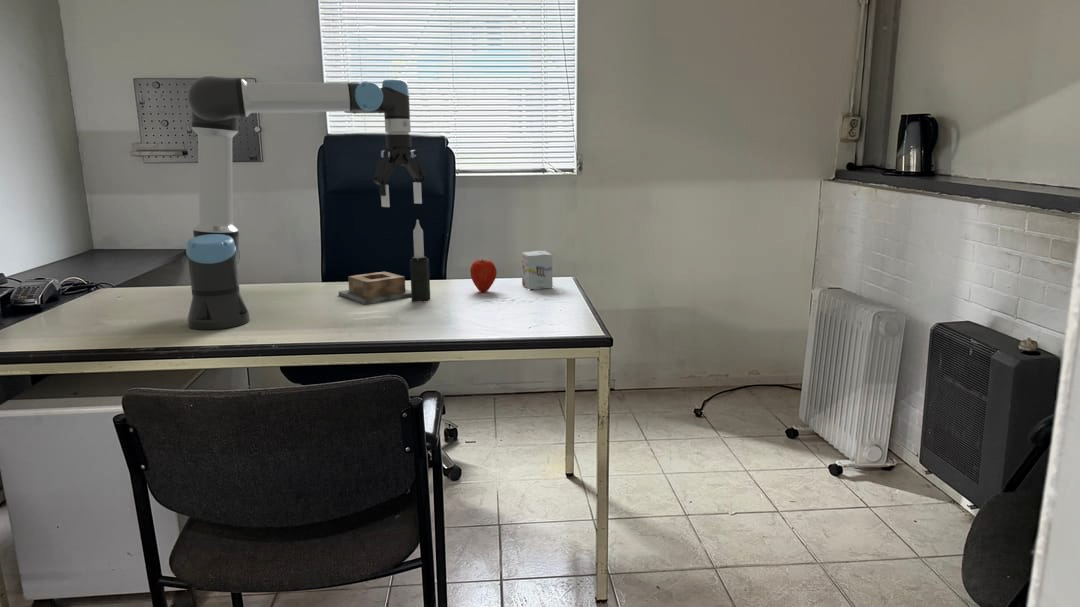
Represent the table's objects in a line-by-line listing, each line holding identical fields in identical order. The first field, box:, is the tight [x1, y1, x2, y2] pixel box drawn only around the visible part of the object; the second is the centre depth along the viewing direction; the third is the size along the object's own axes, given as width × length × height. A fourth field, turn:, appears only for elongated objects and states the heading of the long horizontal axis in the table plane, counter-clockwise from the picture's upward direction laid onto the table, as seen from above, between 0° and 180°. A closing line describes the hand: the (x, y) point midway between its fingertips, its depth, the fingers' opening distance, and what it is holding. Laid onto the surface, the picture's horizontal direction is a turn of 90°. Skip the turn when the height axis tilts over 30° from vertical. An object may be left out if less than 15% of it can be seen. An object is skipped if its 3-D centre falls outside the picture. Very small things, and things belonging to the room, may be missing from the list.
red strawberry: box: [469, 258, 498, 293], centre depth 223 cm, size 9×8×11 cm
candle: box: [409, 219, 431, 303], centre depth 210 cm, size 5×5×25 cm
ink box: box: [521, 250, 554, 290], centre depth 230 cm, size 9×9×12 cm
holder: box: [338, 271, 412, 305], centre depth 219 cm, size 18×18×6 cm
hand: (402, 205), depth 210 cm, fingers open, 13 cm apart
